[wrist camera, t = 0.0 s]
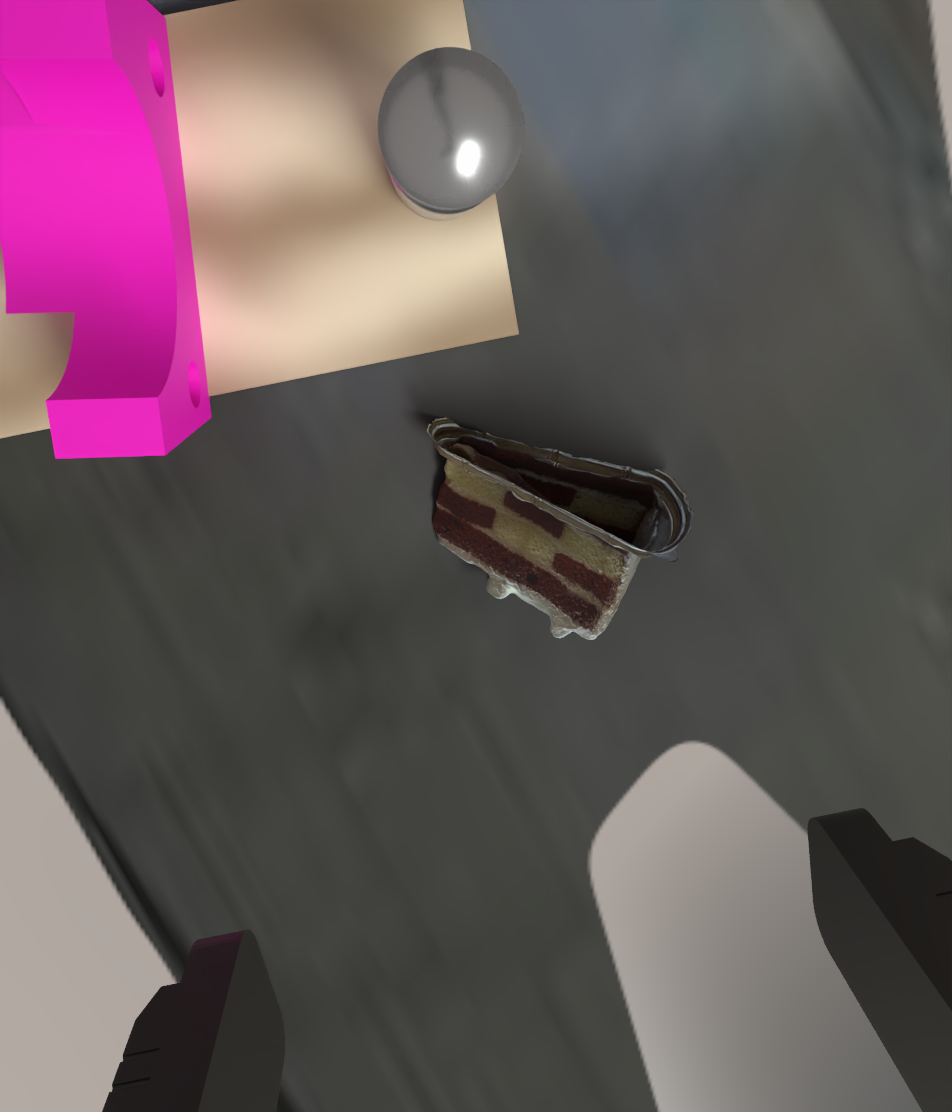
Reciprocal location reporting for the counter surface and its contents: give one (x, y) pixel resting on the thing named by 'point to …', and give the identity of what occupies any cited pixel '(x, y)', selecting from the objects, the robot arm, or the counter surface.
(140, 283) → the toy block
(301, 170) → the beige piece
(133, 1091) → the robot arm
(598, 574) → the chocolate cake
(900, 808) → the counter surface
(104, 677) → the counter surface
